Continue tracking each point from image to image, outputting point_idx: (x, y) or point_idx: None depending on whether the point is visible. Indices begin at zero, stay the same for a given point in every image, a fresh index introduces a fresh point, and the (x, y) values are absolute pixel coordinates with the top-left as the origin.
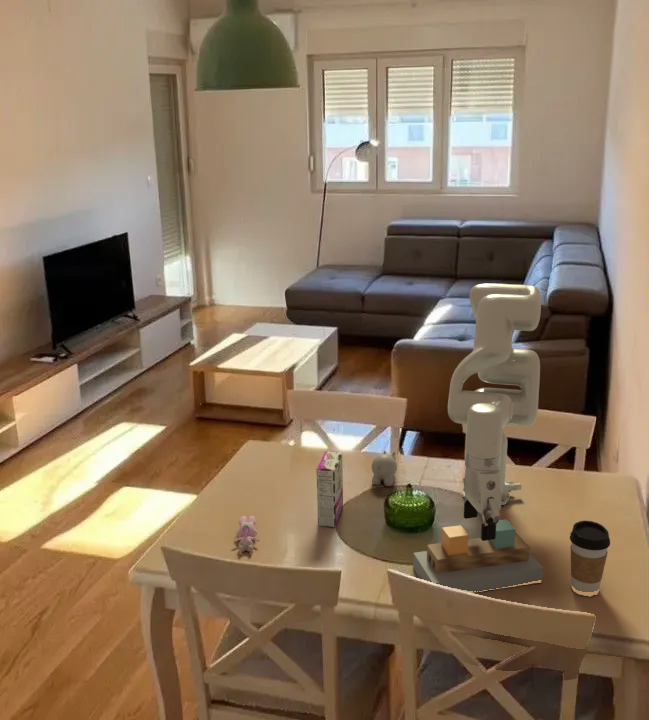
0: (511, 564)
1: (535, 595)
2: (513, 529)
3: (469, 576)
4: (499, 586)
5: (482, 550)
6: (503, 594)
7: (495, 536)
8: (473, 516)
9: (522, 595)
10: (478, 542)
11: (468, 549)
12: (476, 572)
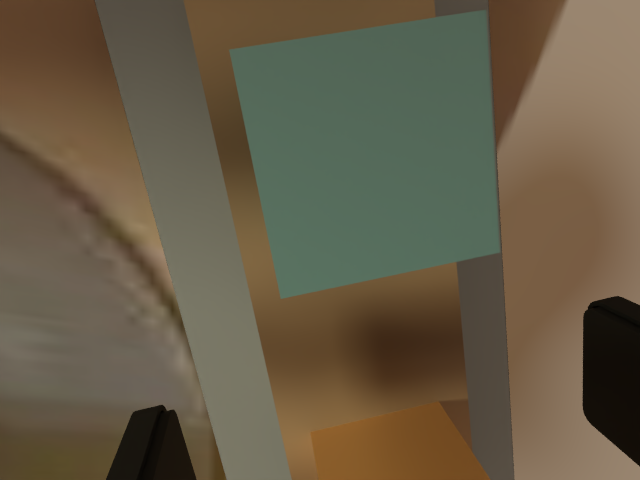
0: None
1: (523, 17)
2: (484, 38)
3: (492, 352)
4: None
5: (425, 307)
6: None
7: (632, 302)
8: (182, 453)
9: (511, 83)
10: (315, 313)
11: (400, 391)
12: (464, 313)
